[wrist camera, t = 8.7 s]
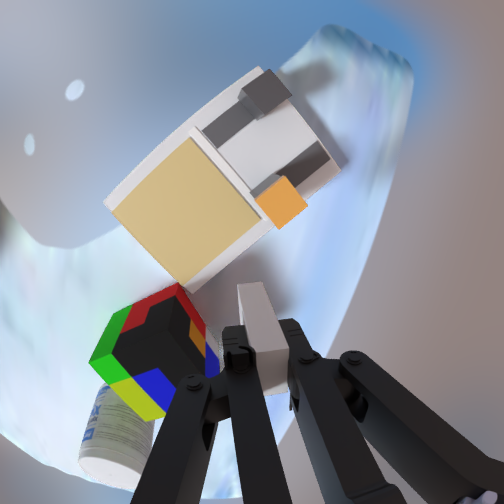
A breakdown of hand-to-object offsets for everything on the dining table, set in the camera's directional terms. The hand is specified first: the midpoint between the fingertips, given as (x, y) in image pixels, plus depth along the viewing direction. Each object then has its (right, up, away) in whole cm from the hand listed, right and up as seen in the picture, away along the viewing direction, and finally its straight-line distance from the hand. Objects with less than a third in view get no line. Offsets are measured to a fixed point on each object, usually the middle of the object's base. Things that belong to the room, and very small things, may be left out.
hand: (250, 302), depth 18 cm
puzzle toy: (-11, -7, +18) cm, 22 cm away
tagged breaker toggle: (+2, +9, +11) cm, 14 cm away
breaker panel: (-3, +11, +12) cm, 17 cm away
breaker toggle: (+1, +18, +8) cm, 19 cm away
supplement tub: (-19, -20, +21) cm, 35 cm away
